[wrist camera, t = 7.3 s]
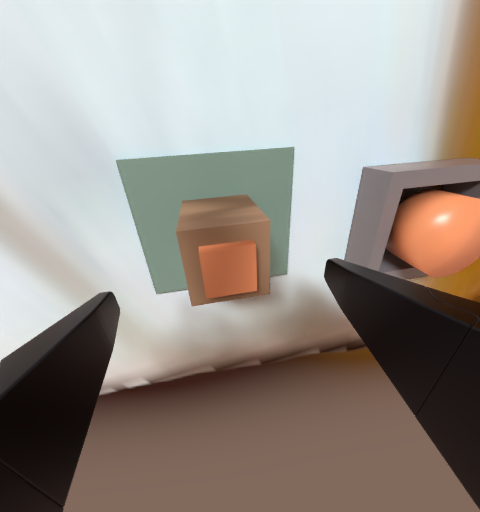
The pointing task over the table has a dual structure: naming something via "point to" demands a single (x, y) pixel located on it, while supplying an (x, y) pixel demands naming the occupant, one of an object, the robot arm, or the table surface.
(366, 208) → the button box
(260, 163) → the board
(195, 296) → the block
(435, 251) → the button
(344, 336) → the table surface
